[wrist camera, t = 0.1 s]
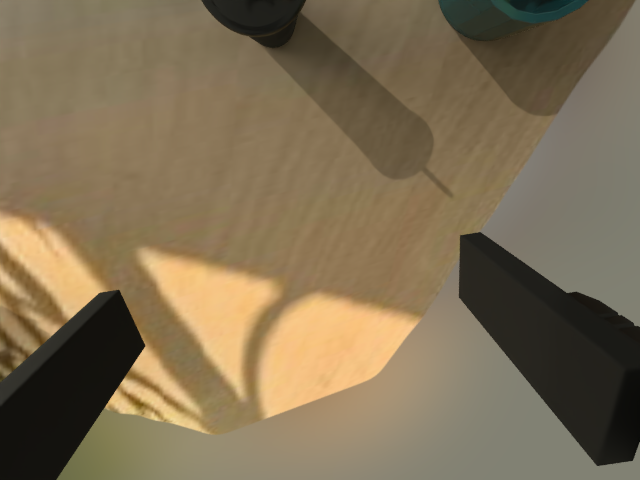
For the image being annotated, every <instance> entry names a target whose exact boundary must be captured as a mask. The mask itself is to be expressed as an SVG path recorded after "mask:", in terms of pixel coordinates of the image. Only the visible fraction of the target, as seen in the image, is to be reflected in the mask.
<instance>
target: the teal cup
mask: <svg viewBox="0 0 640 480" xmlns="http://www.w3.org/2000/svg"><path fill="white" fill-rule="evenodd" d="M438 1H439V4H440V7H441V10H442V12H443V14H444V16H445V18H446V19H447V21H448V22H449V23H450V24H451V26H452V27H453V28H454V29H455V30H457V31H458V32H459V33H460V34H462V35H464V36H465V37H468V38H470V39H474V40H478V41H493V40H497V39H501V38H506V37H509V36H512V35H515V34H518V33H521V32H524V31H527V30H529V29H532V28H535V27H538V26H541V25H544V24H547V23H550V22H552V21H555V20H558V19H560V18H562V17H564V16H566V15H567V14H569V13H571V12H573V11H575V10H577V9H579V8H580V7H582V6H583V5H584V4H585V3H586V2H587V1H588V0H438Z"/></svg>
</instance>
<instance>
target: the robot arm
mask: <svg viewBox="0 0 640 480" xmlns="http://www.w3.org/2000/svg"><path fill="white" fill-rule="evenodd" d="M459 298H460V299H461V300H462V301H463V303H464V304H465V305H466V306H467V308H468V309H469V310H470V311H471V312H472V314H473V315H474V316H475V317H476V318H477V320H478V321H479V322H480V323H481V325H482V326H483V327H484V328H485V329H486V331H487V332H488V333H489V334H490V336H491V337H492V338H493V339H494V340H495V342H496V343H497V344H498V345H499V347H500V348H501V349H502V350H503V351H504V352H505V354H506V355H507V356H508V358H509V359H510V360H511V361H512V362H513V364H514V365H515V366H516V367H517V368H518V370H519V371H520V372H521V373H522V375H523V376H524V377H525V378H526V380H527V381H528V382H529V383H530V384H531V386H532V387H533V388H534V389H535V391H536V392H537V393H538V394H539V395H540V397H541V398H542V399H543V400H544V402H545V403H546V404H547V405H548V406H549V408H550V409H551V410H552V411H553V412H554V414H555V415H556V416H557V417H558V419H559V420H560V421H561V422H562V423H563V425H564V426H565V427H566V428H567V430H568V431H569V432H570V433H571V434H572V436H573V437H574V438H575V439H576V441H577V442H578V443H579V444H580V446H581V447H582V448H583V449H584V450H585V452H586V453H587V454H588V455H589V457H591V459H592V460H593V461H594V463H595V464H596V465H597V466H600V465H607V464H614V463H620V462H628V461H633V459H634V456H635V453H636V450H637V448H638V445H639V442H640V327H639V326H634V323H633V322H631V321H630V320H628V319H627V318H625V317H623V316H622V315H620V316H619V315H618V313H617V312H616V311H614V310H612V309H611V308H610V307H608V306H607V305H605V304H604V303H602V302H600V301H599V300H596V299H594V298H591V297H589V296H586V295H584V294H581V293H578V292H572V293H566V292H564V291H563V290H562V289H560V288H559V287H557V286H556V285H555V284H553V283H552V282H550V281H549V280H548V279H546V278H545V277H543V276H542V275H541V274H539V273H538V272H536V271H535V270H533V269H532V268H531V267H529V266H528V265H526V264H525V263H523V262H522V261H521V260H519V259H518V258H516V257H515V256H514V255H512V254H511V253H509V252H508V251H506V250H505V249H504V248H502V247H501V246H499V245H498V244H496V243H495V242H494V241H492V240H491V239H489V238H488V237H487V236H485V235H484V234H482V233H481V232H479V233H472V234H466V235H460V270H459ZM144 347H145V344H144V342H143V340H142V338H141V335H140V333H139V331H138V329H137V327H136V325H135V323H134V320H133V318H132V316H131V314H130V312H129V310H128V308H127V306H126V303H125V301H124V299H123V297H122V295H121V293H120V291H119V290H115V291H108V292H102V293H99V294H98V295H97V296H96V297H95V298H93V299H92V300H91V301H90V302H89V303H88V304H87V305H86V306H85V307H83V308H82V309H81V310H80V311H79V312H78V313H77V314H76V315H75V316H74V317H72V318H71V319H70V320H69V321H68V322H67V323H66V324H65V325H64V326H62V327H61V328H60V329H59V330H58V331H57V332H56V333H55V334H54V335H52V336H51V337H50V338H49V339H48V340H47V341H46V342H45V343H44V344H43V345H41V346H40V347H39V348H38V349H37V350H36V351H35V352H34V353H33V354H31V355H30V356H29V357H28V358H27V359H26V360H25V361H24V362H23V363H21V364H20V365H19V366H18V367H17V368H16V369H15V370H14V371H13V372H12V373H10V374H9V375H8V376H7V377H6V378H5V379H4V380H3V381H2V382H0V480H56V479H57V478H58V476H59V475H60V473H61V472H62V470H63V469H64V467H65V466H66V464H67V463H68V461H69V460H70V458H71V457H72V455H73V454H74V452H75V451H76V449H77V448H78V446H79V445H80V443H81V442H82V440H83V439H84V437H85V436H86V434H87V433H88V431H89V430H90V428H91V427H92V425H93V424H94V422H95V421H96V419H97V418H98V416H99V415H100V413H101V412H102V410H103V409H104V407H105V406H106V404H107V403H108V401H109V400H110V398H111V397H112V395H113V394H114V392H115V391H116V389H117V388H118V386H119V385H120V383H121V382H122V380H123V379H124V377H125V376H126V374H127V373H128V371H129V370H130V368H131V367H132V365H133V364H134V362H135V361H136V359H137V358H138V356H139V355H140V353H141V352H142V350H143V349H144Z"/></svg>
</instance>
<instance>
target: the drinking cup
mask: <svg viewBox="0 0 640 480" xmlns="http://www.w3.org/2000/svg"><path fill="white" fill-rule="evenodd" d="M201 1H202V2H203V4H204V5H205V7H206V8H207V9H208V11H209V12H210V13H211V14H212V15H213V16H214V17H215V18H216V19H217V20H218V21H219V22H220V23H221V24H223V25H224V26H225V27H227V28H228V29H230V30H232V31H234V32H236V33H239V34H241V35H245V36H249V37H250V38H252V39H254V40H255V41H257V42H258V43H260V44H262V45H264V46H266V47H271V48H275V47H279V46H282V45H283V44H285V43H286V42H287V41H288V40H289V39H290V37H291V35H292V33H293V31H294V27H295V24H296V20H297V17H298V14H299V13H300V11H301V9H302V8H303V6H304V3H305V1H306V0H201Z"/></svg>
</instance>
